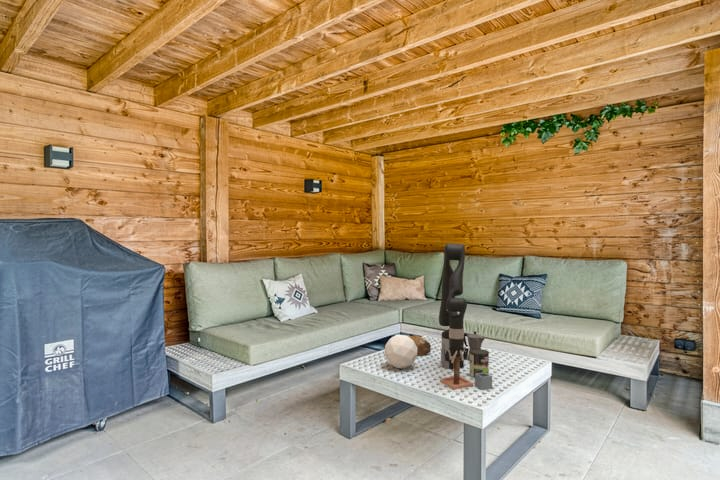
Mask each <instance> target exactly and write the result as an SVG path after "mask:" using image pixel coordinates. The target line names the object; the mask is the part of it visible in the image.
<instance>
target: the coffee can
mask: <svg viewBox="0 0 720 480" xmlns="http://www.w3.org/2000/svg"><path fill="white" fill-rule="evenodd" d="M469 352H470V361H469V376H470V377H472V378H474V379H475V374H477V373H483V372H485V373H487V374H489V369H490V366H489V361H490V357H489V356H490V351H488V350H486V349H484V348H483V349H482V348H481V349H471V350H470V351H468V353H469ZM489 375H490V374H489Z"/></svg>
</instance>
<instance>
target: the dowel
mask: <svg viewBox="0 0 720 480" xmlns="http://www.w3.org/2000/svg"><path fill="white" fill-rule="evenodd" d="M460 373H461V368H460V356H456V357H455V359H454V368H453V376H454V384H460V376H461V375H460Z"/></svg>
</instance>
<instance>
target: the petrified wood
mask: <svg viewBox="0 0 720 480" xmlns="http://www.w3.org/2000/svg"><path fill="white" fill-rule="evenodd" d="M407 336H408V337H410V338H411V339H412V340H413V341H414V343H415V344H416V346H417V348H418V349H417V356H425V355H426V354H429V353H431V352H432V351H431V350H432V345H431V343H430V342H429V341H428V340H426V339H425V338H423V337H422V336H419V335H418V334H414V335H413V334H412V335H407Z"/></svg>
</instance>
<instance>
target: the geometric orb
mask: <svg viewBox="0 0 720 480" xmlns="http://www.w3.org/2000/svg"><path fill="white" fill-rule="evenodd" d="M408 336H409V335H407V334H406V335H405V334H395V335H394V336H392V337H390V338H389V339H388V341H387V342H386V343H385V346H384V357H385V358H386V361H387V362H388V364H390V365H391V366H392V367H394V368H397V369H404V370H406V369H407V368H408V367H410V366H412V365H413V364H415V361H416V360H417V358H418V355H417V349H418V348H417V346H416V344H415V343H414V341H413V340H412V339H411V338H410V337H408Z"/></svg>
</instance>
